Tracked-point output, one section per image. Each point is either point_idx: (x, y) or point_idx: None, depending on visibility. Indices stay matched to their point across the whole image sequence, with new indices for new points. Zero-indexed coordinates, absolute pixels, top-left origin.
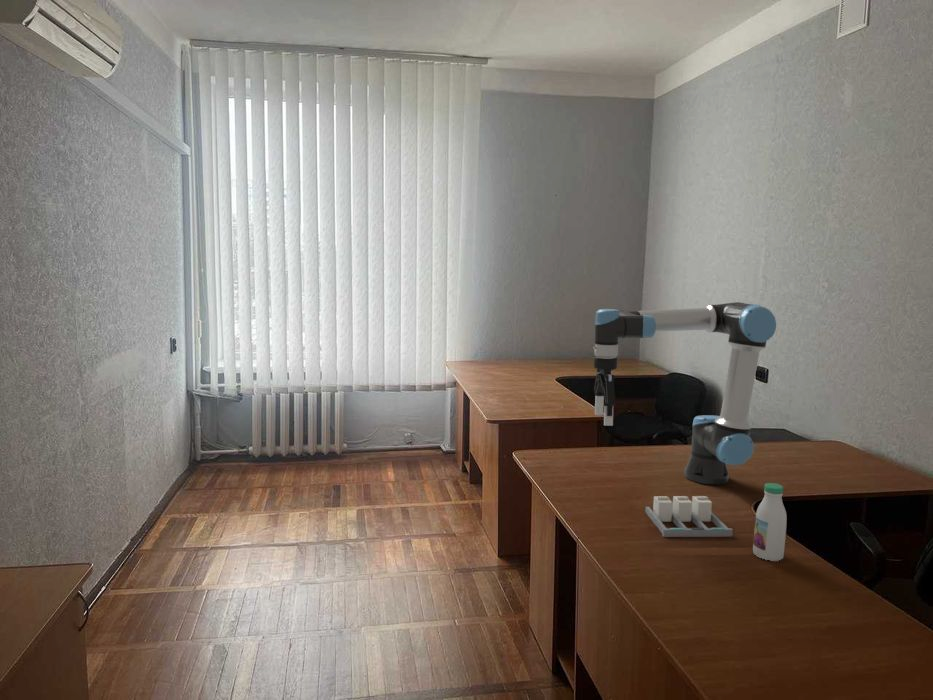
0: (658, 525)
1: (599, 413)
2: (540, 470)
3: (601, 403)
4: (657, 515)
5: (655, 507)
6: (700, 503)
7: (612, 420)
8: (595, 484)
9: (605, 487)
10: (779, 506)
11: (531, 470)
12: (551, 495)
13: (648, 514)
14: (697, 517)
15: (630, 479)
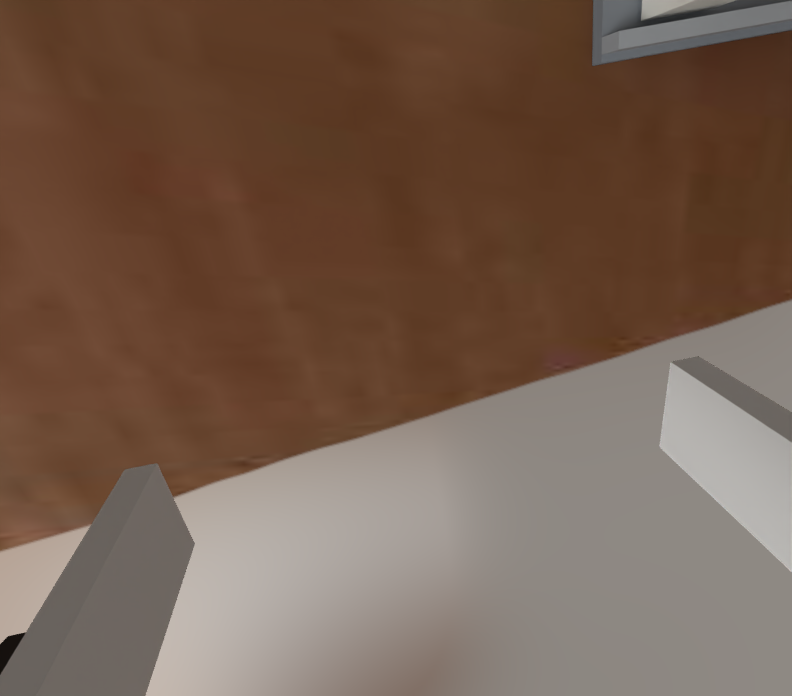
0: (787, 20)
1: (171, 519)
2: None
3: (93, 653)
4: (719, 4)
5: (706, 2)
6: None
7: (750, 394)
8: (227, 259)
9: (256, 214)
10: None
11: None
12: (400, 421)
13: (649, 45)
14: None
15: (74, 55)
